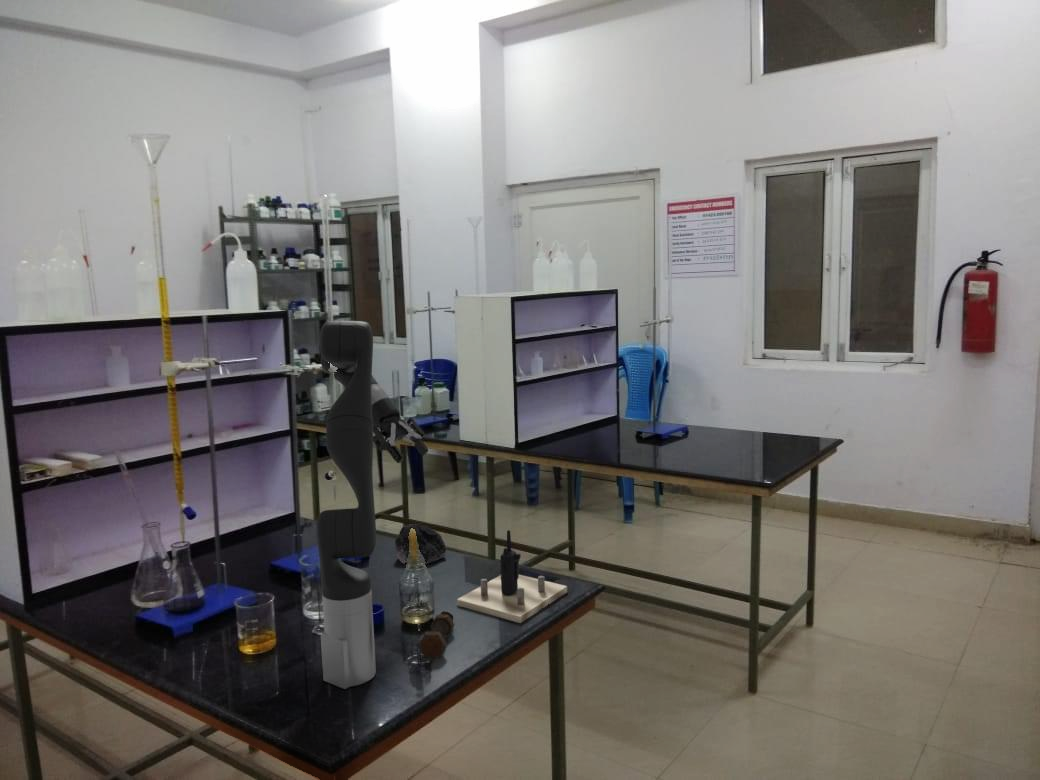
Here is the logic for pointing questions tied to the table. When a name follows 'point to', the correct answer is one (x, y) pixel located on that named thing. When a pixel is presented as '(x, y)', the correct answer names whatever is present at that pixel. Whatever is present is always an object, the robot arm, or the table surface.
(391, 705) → the table surface
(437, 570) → the table surface
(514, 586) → the two-way radio
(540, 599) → the peg cradle
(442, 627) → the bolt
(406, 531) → the crystal cluster
